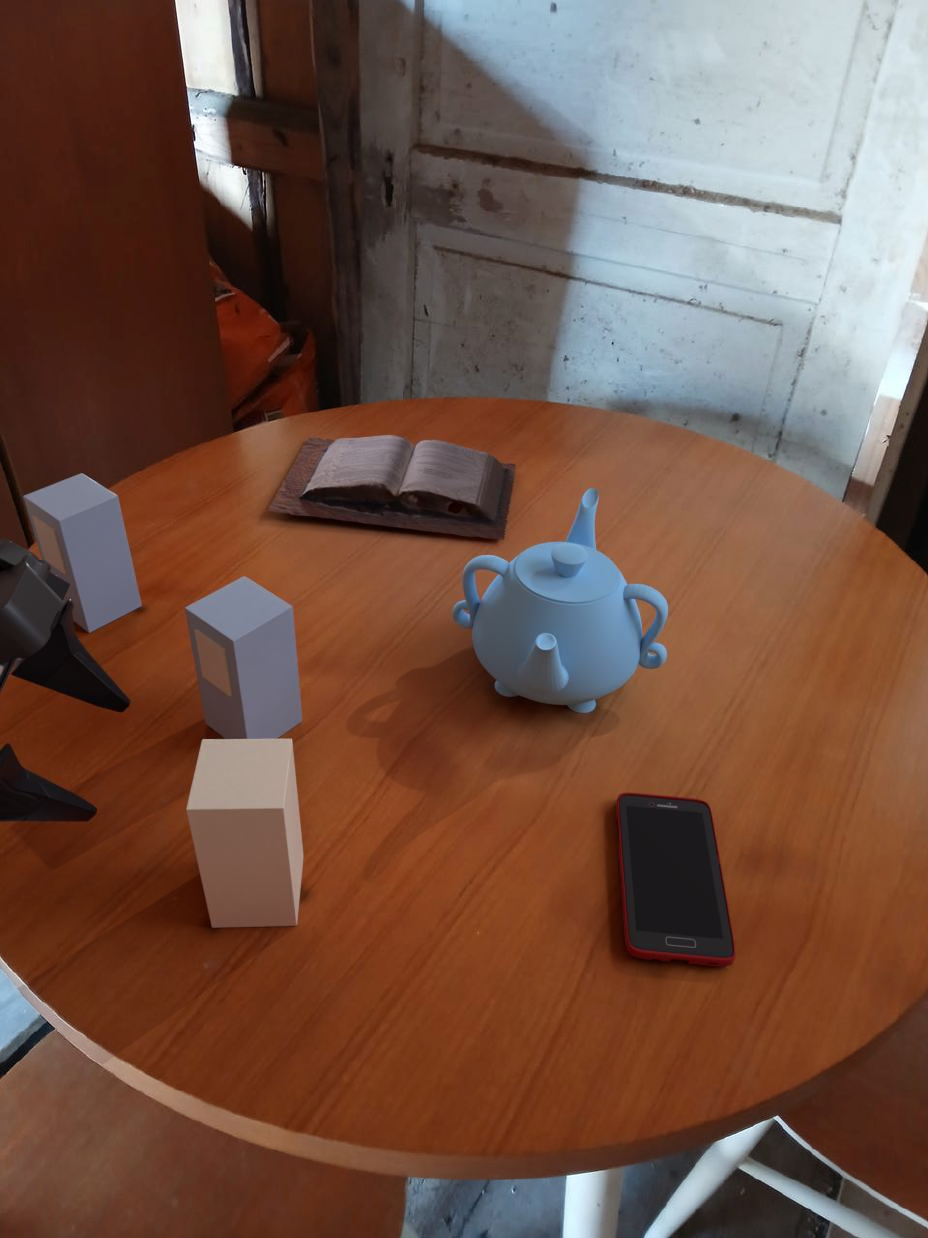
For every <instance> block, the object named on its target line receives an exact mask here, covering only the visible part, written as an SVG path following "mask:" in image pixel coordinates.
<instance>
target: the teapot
mask: <svg viewBox="0 0 928 1238" xmlns="http://www.w3.org/2000/svg"><path fill="white" fill-rule="evenodd" d="M599 497H600V495H599V491H598V489H597V488H594V487H591V488H588V489H587V490H586V491H585V492H584V494H583V495H582V497H581V500H580V501H579V505H578V509H577V512H576V515H575V518H574V520H573V523H572V525H571V528H570V529H569V531H568V534H567V537H566V538H565V541H547V542H542V543H538V544H535V545H533V546H530V547H528V548H526V549H524V550H523V551H522V552H520V553H519V554H518V555H516V556H515V557H514V558H513V559H512V560H510V562H509V561H507V560H506V559H503V558H502V557H500V556H497V555H492V554H482V555H478V556H475V557H473V558H472V559H470V560H469V561H468V562H467V564H466V565H465V567H464V568H463V571H462V575H461V576H462V577H461V583H462V589H463V595H464V599H463V600H459V601H457V602H456V604H455V605H454V606H453V608H452V613H451V614H452V615H451V616H452V619H453V621H454V622H455V623H456V624H457V625H458V626H459V627H461V628H463V629H467V630H470V629H472V633H471V640H472V641H471V642H472V646H473V649H474V652H475V655H476V657H477V659H478V661H479V663H480V664H481V666H482V667H483V668H484V669H485V671H487V673H488V674H489V675H490V676H491V677H492V678H493V679H494V680H495V682H494V690H495V691H496V693H498V694H499V695H501V696H504V697H507V698H508V697H509V698H512V697H518V696H520V697H522V698H525V699H528V700H530V701H534V702H537V703H542V704H548V705H556V706H557V705H558V706H567V707H568V708H569V709H570V710H571V711H573V712H575V713H580V714H587V713H591V712H592V711H594V710H595V708H596V706H597V703H596V700H598V699H600V698H603V697H605V696H607V695H610V694H611V693H613V692H615V691H617V690H618V689H620V688H622V687H623V686H624V685H625V684H626V683H627V682H628V681H629V680H630V678H632V676H633V675H634V673H635V672H636V671H637V669H638V667H639V666H640V667H642V668H644V669H647V670H655V669H658V668H661V667H662V666H663V665H664V664H665V662H666V660H667V657H668V652H667V648H666V647H665V646H664V645H663V644H662V643H659V642H655V641H656V640H657V638H658V637H659V635H660V634H661V632H662V630H663V629H664V627H665V625H666V622H667V620H668V616H669V615H668V614H669V606H668V602H667V600H666V598H665V597H664V595H663V594H662V593H661V592H660V591H658V590H657V589H656V588H653V587H652V586H650V585H646V584H643V583H629V584H628V582H627V580H626V579H625V577H624V575H623V573H622V572H621V570H619V568H618V567H617V565H616V564H615V562H614V561H612V559H610V558H609V557H608V556H607V555H605V554H604V553H602V552H601V551H599V550H597V543H596V530H595V527H596V525H595V524H596V513H597V508H598V505H599ZM480 570H483V571H485V570H486V571H491V572H493V573H495V574H497V575H496V577H495V578H494V579H493V581H491V583H490V584H489V586H488V587H487V589H486V590H485V592H484V593H483V596H482V598H481V600H480V597H479V594H478V590H477V585H476V580H475V579H476V578H475V573H476V571H480ZM636 600H638V601H642V602H644V603H647V604H649V605H650V606H652V607H653V608H654V610H655V617H654V620H653V622H652V623H651V625H650V627H649V628H648V629H647V631H646V633H645V634H644V636H643V625H642V618H641V613H640V609H639V607H638V604H637V601H636ZM464 610H465V611H467V612H468V613H467V612H465V611H464ZM649 652H650V653H649ZM651 653H654V654H651Z"/></svg>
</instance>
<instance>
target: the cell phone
mask: <svg viewBox="0 0 928 1238" xmlns="http://www.w3.org/2000/svg"><path fill="white" fill-rule="evenodd" d="M615 816H616V821H617V824H618V826H617V827H618V839H619V844H618V857H619V872H620V873H619V874H620V887H621V901H622V902H621V903H622V918H623V932H624V942H625V948H626V951H627V953H628V954H629V955H630V956H631V957H633V958H637V959H641V960H642V959H643V960H649V961H652V960H653V959H655V960H658V961H661V962H669V963H670V962H671V960H677V961H687V964H690V965H701V966H708V967H709V966H710V967H728V966H732V965H733V963H734V961H735V959H736V955H737V954H736V943H735V937H734V930H733V926H732V919H731V913H730V909H729V902H728V897H727V896H728V895H727V891H726V886H725V879H724V873H723V868H722V862H721V856H720V851H719V845H718V839H717V834H716V828H715V827H716V826H715V822H714V817H713V812H712V808H711V806H710V805H709V803H708V801H705V800H703V799H699V798H693V797H682V796H671V795H662V794H661V795H660V794H651V793H641V792H622V793H620V794H618V796H617V798H616V802H615Z"/></svg>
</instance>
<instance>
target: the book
mask: <svg viewBox="0 0 928 1238" xmlns="http://www.w3.org/2000/svg"><path fill="white" fill-rule="evenodd" d="M516 466H517V464H516V463H511V462H507V463H505V462H504V463H503V462H500V461H499V460H498V459H497V458H496V457H495V456H493V455H491V454H490V453H488V452H486V451H482V450H481V451H480V450H477V449H474V448H470V447H466V446H462V445H459V444H455V443H451V442H447V441H443V440H438V439H430V440H429V439H422V440H420V441H419V442H418V443H417V444H416V445H414V443H412V442H410V441H409V440H408V439H407V438H405V437H401V436H397V435H392V434H387V435H386V434H385V435H375V436H374V435H373V436H364V437H349V438H347V437H340V438H337V439H331V438H325V439H324V438H320V437H318V438H316V437H311V436H309V437H307V439H306V441H305V443H304V445H303V446H302V448H301V450H300V451H299V453H298V455H297V457H296V459H295V460H294V462H293V464H292V466H291V467H290V470H288V472H287V475H286V476H285V477H284V479H283V481H282V483H281V486H280V487H279V489H278V490H277V491H276V494H275V496H274V497H275V498H273V499H272V501H271V502H270V504H269V506H268V509H267V511H268V512H273V513H279V514H290V515H293V516H305V517H306V516H307V517H315V518H321V519H333V520H338V521H344V522H353V523H362V524H367V525H375V526H386V527H390V528H399V529H407V530H409V529H410V530H416V531H421V532H433V533H442V534H453V535H457V536H462V537H470V538H473V537H474V538H475V537H478V538H479V537H480V538H482V539H489V540H490V539H494V540H502V541H505V535H506V528H507V527H506V526H507V524H508V523H507V522H508V516H509V513H510V510H509V509H510V504H511V500H512V492H513V487H514V480H515V474H516ZM451 504H460V505H463V506H462V508H461V509H460V510H459V512H458V513H455V512H453V511H452V512H451V511H449V506H450V505H451ZM467 509H468V510H467Z"/></svg>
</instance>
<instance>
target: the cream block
mask: <svg viewBox="0 0 928 1238" xmlns="http://www.w3.org/2000/svg"><path fill="white" fill-rule="evenodd" d="M297 785H298V784H297V776H296V765H295V755H294V745H293V739H292V738H277V739H225V738H215V739H213V738H211V739H209V738H208V739H206V738H203V739H201V741H200V747H199V752H198V755H197V759H196V764H195V768H194V773H193V778H192V781H191V785H190V790H189V794H188V799H187V803H186V809H185V812H186V816H187V820H188V825H189V831H190V833H191V839H192V843H193V847H194V852H195V853H194V854H195V857H196V861H197V862H196V863H197V866H198V871H199V875H200V879H201V884H202V888H203V893H204V897H205V902H206V907H207V912H208V916H209V921H210V926H211V928H212V929H217V928H218V929H219V928H220V929H221V928H222V929H223V928H253V927H254V928H255V927H256V928H257V927H260V928H261V927H264V928H265V927H296V926H298V920H299V911H300V901H301V900H300V898H301V890H302V889H301V887H302V877H303V867H304V846H303V835H302V825H301V817H300V816H301V815H300V805H299V794H298V786H297Z"/></svg>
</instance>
